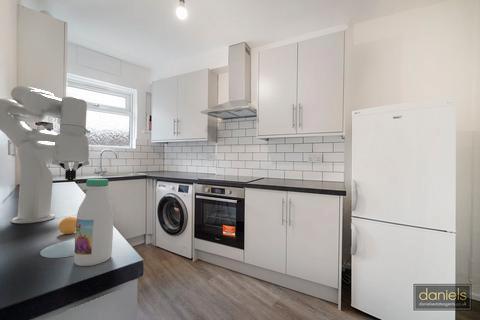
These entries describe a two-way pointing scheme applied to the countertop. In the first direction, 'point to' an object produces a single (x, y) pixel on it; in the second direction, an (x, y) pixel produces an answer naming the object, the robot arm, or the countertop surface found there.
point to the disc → (59, 250)
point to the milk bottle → (94, 225)
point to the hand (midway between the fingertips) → (70, 181)
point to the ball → (68, 225)
